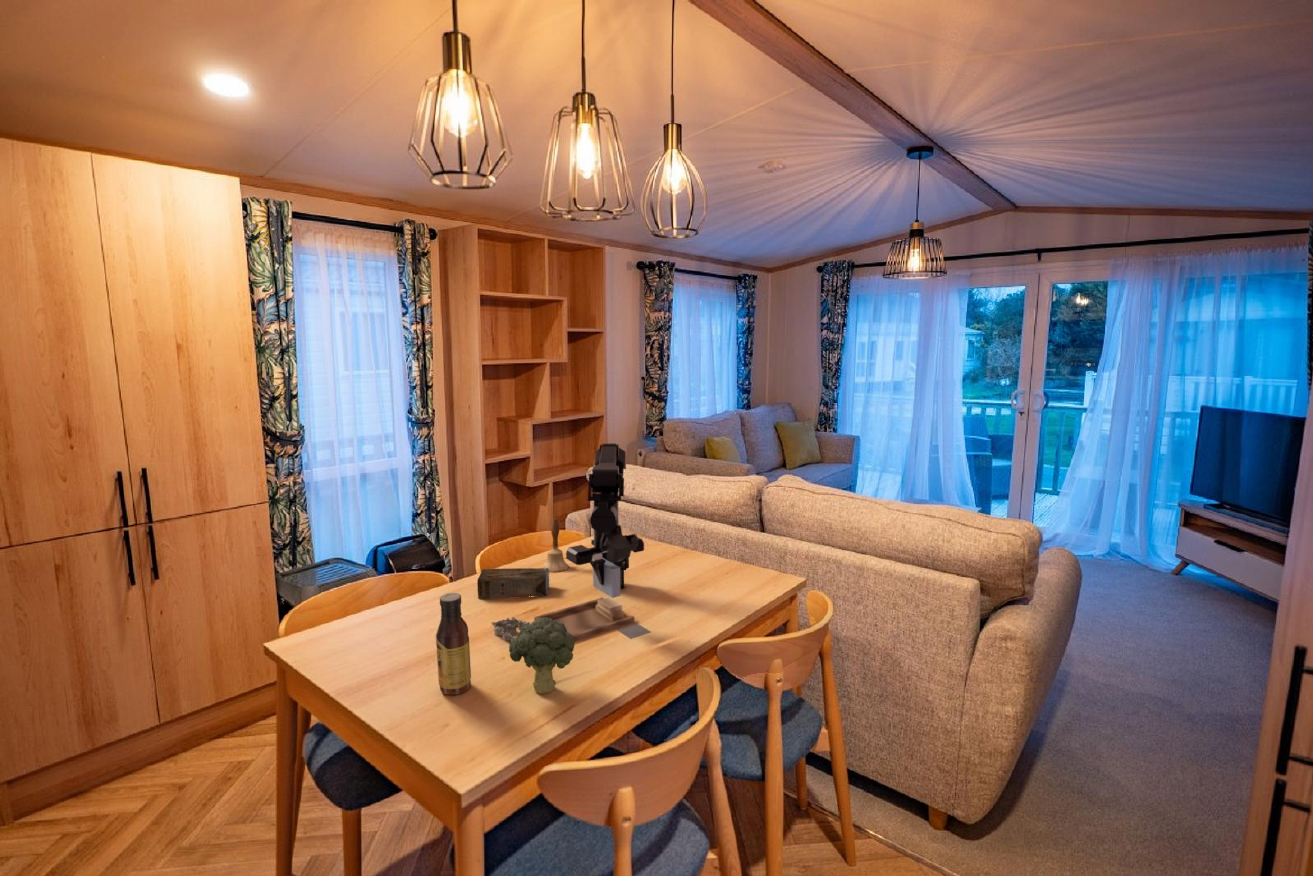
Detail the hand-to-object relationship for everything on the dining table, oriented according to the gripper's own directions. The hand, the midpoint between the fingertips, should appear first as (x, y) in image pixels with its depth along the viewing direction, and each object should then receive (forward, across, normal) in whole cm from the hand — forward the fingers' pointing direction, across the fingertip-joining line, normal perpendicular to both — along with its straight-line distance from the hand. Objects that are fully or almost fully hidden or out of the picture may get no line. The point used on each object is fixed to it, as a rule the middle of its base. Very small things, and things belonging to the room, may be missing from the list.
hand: (606, 583), depth 148 cm
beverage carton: (+12, -9, +35) cm, 39 cm away
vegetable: (+12, -24, -15) cm, 31 cm away
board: (+2, 0, 0) cm, 2 cm away
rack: (+12, -3, +6) cm, 14 cm away
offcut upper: (+10, +5, +7) cm, 13 cm away
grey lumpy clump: (+13, -20, +10) cm, 25 cm away
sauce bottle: (+12, -38, -4) cm, 41 cm away
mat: (+12, +5, -5) cm, 14 cm away
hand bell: (+12, +9, +47) cm, 49 cm away
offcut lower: (+12, +5, +7) cm, 14 cm away
